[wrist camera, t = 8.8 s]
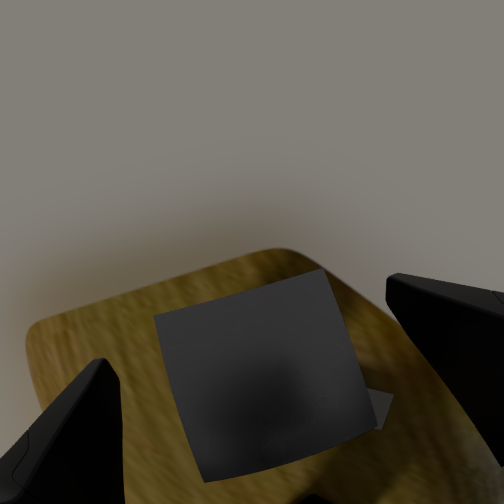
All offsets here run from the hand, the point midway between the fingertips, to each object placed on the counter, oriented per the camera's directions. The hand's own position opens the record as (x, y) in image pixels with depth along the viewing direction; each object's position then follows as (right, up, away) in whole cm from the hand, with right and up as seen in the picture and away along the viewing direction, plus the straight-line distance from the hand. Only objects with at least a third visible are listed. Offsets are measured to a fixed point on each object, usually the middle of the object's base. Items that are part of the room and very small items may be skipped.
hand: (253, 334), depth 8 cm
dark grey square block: (0, -6, +9) cm, 11 cm away
